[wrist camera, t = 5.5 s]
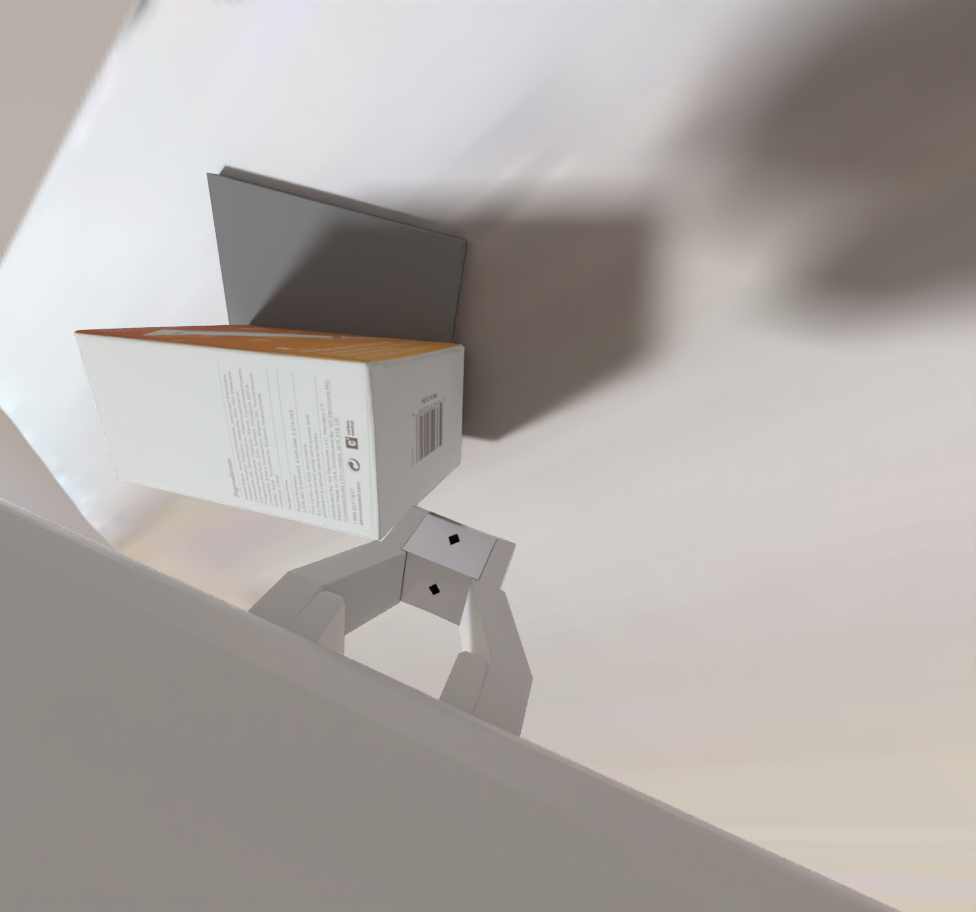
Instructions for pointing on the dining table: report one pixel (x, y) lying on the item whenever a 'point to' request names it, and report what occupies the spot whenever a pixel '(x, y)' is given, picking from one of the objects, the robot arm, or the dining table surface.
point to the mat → (331, 266)
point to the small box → (280, 418)
